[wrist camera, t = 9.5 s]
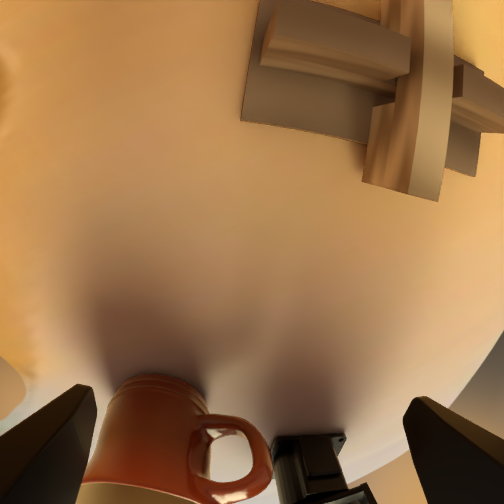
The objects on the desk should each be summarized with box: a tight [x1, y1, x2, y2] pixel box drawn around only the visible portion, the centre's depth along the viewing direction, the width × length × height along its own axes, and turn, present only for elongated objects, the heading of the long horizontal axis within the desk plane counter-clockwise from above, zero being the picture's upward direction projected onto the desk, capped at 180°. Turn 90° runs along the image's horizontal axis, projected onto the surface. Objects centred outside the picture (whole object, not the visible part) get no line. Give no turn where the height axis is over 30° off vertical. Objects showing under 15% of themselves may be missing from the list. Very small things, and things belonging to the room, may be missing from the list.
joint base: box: [241, 0, 504, 177], centre depth 14 cm, size 8×16×6 cm, turn 82°
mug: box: [76, 374, 273, 504], centre depth 17 cm, size 12×9×10 cm
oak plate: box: [362, 0, 454, 202], centre depth 13 cm, size 12×2×5 cm, turn 172°
